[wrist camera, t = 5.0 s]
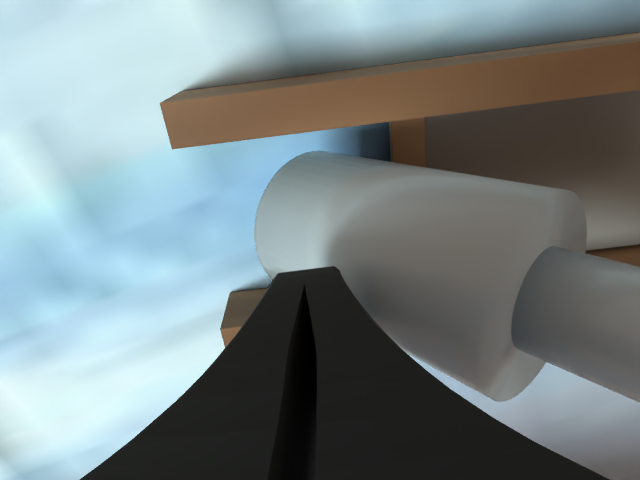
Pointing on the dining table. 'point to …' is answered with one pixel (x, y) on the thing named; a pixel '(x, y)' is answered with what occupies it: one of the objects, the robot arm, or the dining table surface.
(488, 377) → the bottle
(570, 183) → the cradle
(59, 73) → the dining table surface
